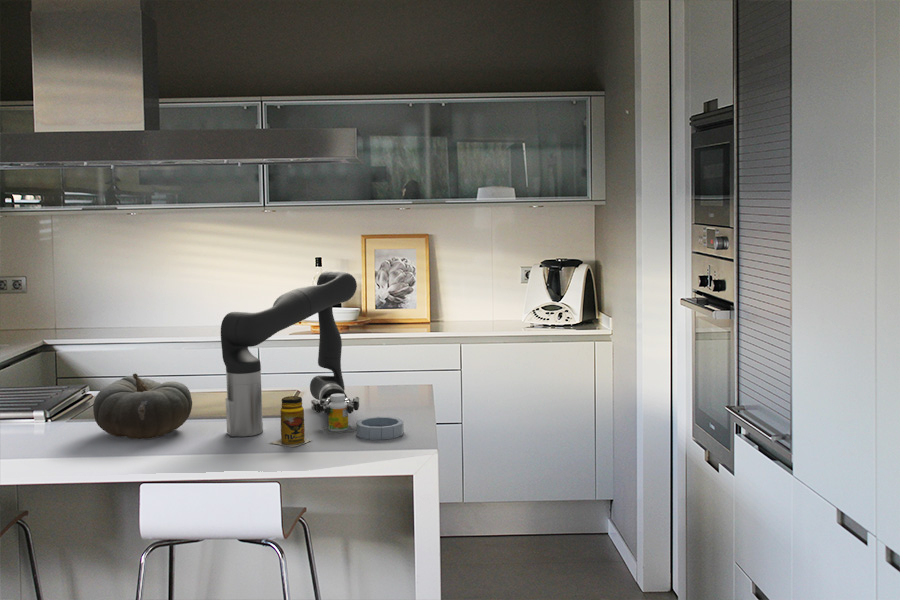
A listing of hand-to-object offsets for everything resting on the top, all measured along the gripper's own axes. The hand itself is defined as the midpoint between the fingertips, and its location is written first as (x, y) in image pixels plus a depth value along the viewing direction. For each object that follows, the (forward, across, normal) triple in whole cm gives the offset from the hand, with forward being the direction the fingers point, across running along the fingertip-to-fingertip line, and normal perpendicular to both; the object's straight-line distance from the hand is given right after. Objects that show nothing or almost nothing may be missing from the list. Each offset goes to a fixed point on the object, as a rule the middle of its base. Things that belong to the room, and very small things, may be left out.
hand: (339, 410), depth 235 cm
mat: (-3, 0, +6) cm, 7 cm away
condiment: (+7, -14, +6) cm, 17 cm away
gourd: (-14, -52, +6) cm, 54 cm away
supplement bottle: (-3, 0, +6) cm, 7 cm away
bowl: (+5, +10, +6) cm, 13 cm away
